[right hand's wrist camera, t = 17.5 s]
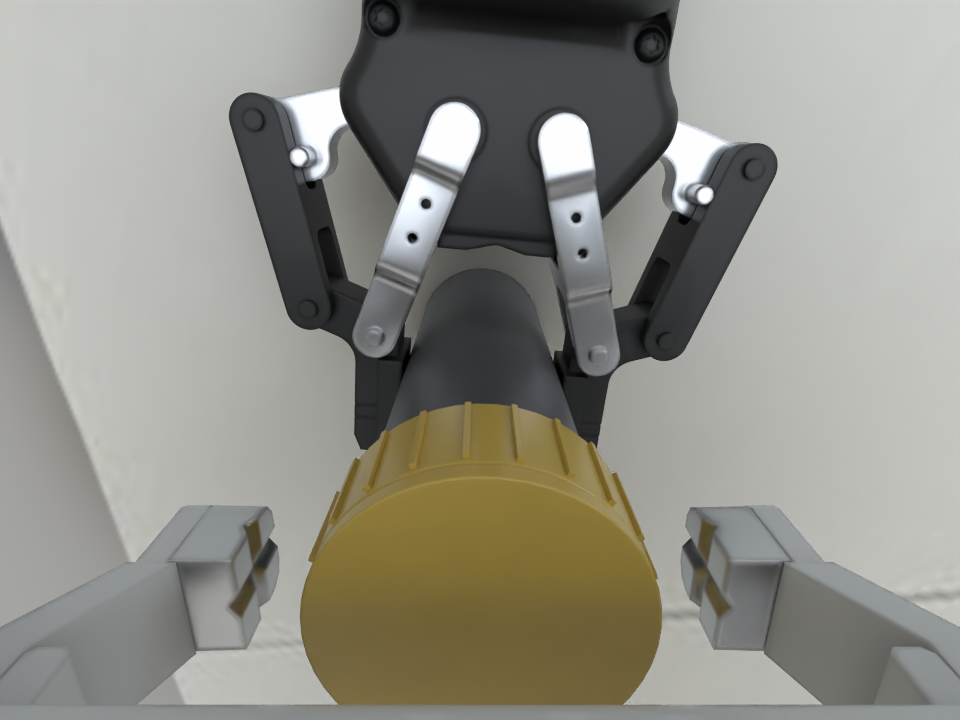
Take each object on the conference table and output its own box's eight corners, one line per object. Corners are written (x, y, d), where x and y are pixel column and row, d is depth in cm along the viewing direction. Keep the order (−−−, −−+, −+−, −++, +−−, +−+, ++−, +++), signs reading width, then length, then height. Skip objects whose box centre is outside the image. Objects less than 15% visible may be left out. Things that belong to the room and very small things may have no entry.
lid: (289, 581, 11) (241, 690, 9) (414, 343, 9) (392, 403, 7) (533, 680, 12) (545, 802, 10) (686, 479, 10) (744, 571, 8)
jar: (549, 282, 23) (665, 507, 9) (521, 386, 24) (579, 723, 10) (436, 257, 23) (359, 445, 8) (415, 364, 24) (319, 680, 10)
